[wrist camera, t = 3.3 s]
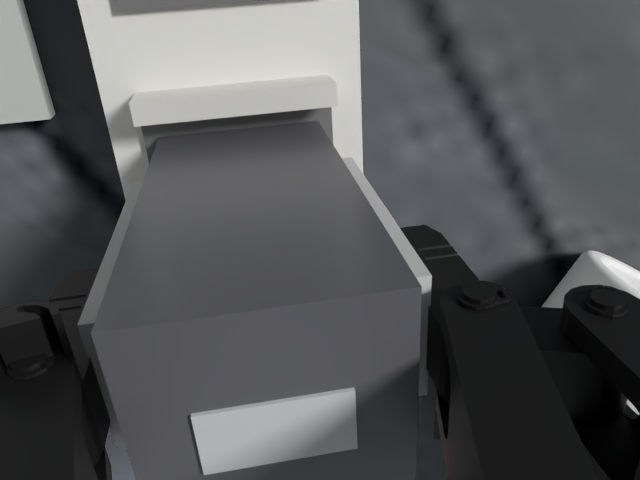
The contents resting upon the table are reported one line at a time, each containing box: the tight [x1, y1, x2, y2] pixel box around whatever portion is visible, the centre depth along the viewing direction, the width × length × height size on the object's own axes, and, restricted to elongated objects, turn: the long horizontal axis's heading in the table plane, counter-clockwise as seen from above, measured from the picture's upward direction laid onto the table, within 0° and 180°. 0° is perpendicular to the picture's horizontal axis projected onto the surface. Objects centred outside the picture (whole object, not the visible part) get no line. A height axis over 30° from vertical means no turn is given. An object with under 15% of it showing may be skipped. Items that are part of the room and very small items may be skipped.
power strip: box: [77, 0, 363, 200], centre depth 15 cm, size 34×7×4 cm, turn 4°
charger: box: [91, 121, 422, 480], centre depth 12 cm, size 4×4×9 cm
